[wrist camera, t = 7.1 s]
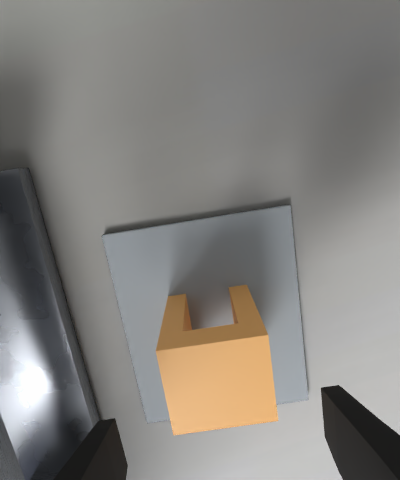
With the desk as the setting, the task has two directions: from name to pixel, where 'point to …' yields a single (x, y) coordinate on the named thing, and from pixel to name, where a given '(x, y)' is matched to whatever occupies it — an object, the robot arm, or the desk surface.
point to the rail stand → (36, 346)
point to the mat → (209, 290)
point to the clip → (216, 368)
